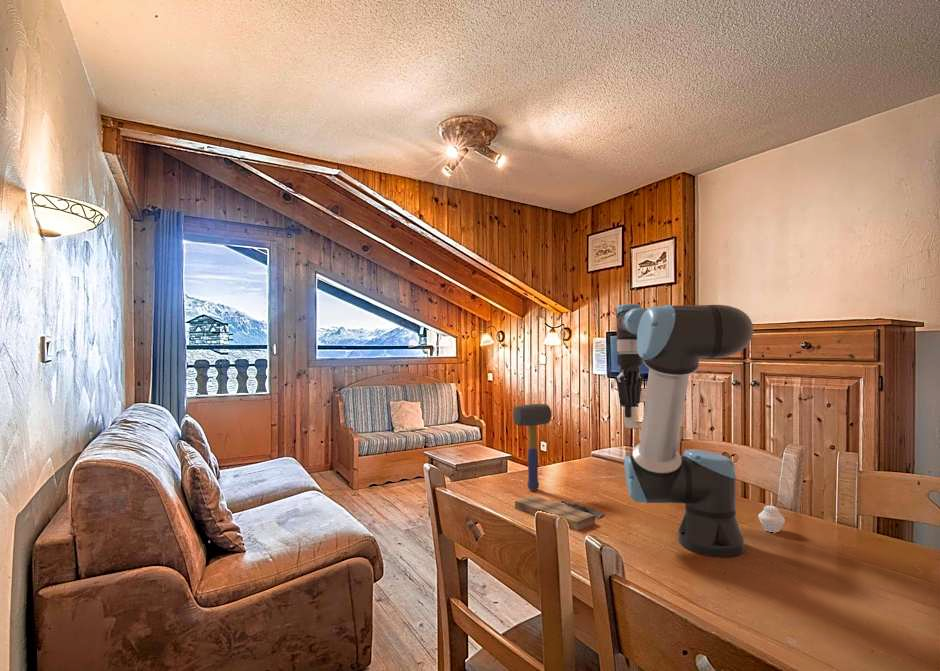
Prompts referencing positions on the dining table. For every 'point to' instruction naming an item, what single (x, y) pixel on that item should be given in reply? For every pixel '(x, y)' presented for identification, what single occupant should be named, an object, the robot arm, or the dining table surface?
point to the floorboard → (556, 511)
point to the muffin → (771, 519)
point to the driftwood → (584, 509)
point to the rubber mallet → (532, 434)
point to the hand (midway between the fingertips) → (630, 427)
